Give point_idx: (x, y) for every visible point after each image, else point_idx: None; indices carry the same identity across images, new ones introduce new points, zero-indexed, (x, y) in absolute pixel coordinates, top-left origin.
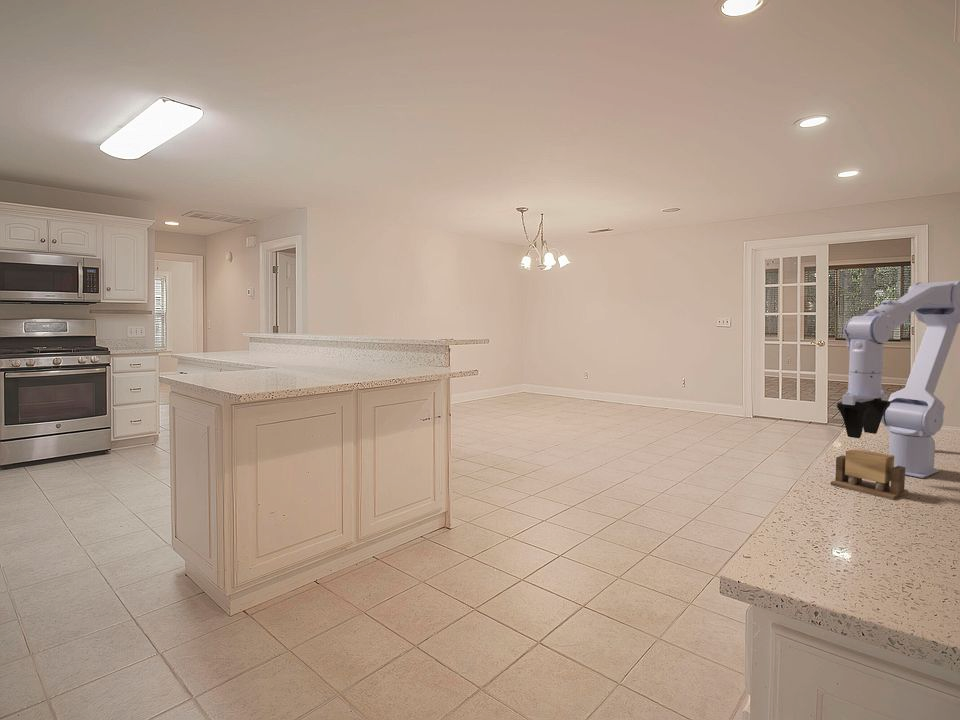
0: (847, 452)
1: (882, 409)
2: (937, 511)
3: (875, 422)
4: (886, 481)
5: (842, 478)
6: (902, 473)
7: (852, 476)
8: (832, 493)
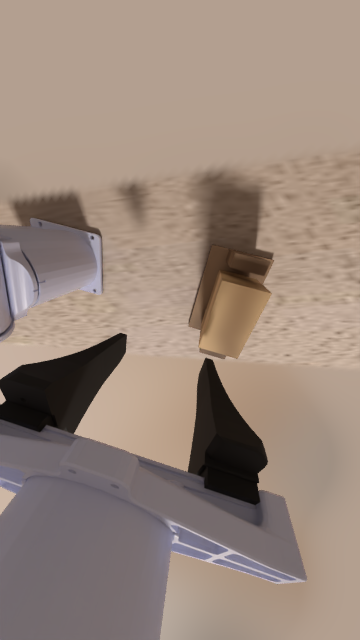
0: (238, 355)
1: (74, 373)
2: (315, 182)
3: (109, 353)
4: (247, 277)
5: None
6: (247, 255)
7: None
8: (282, 331)
